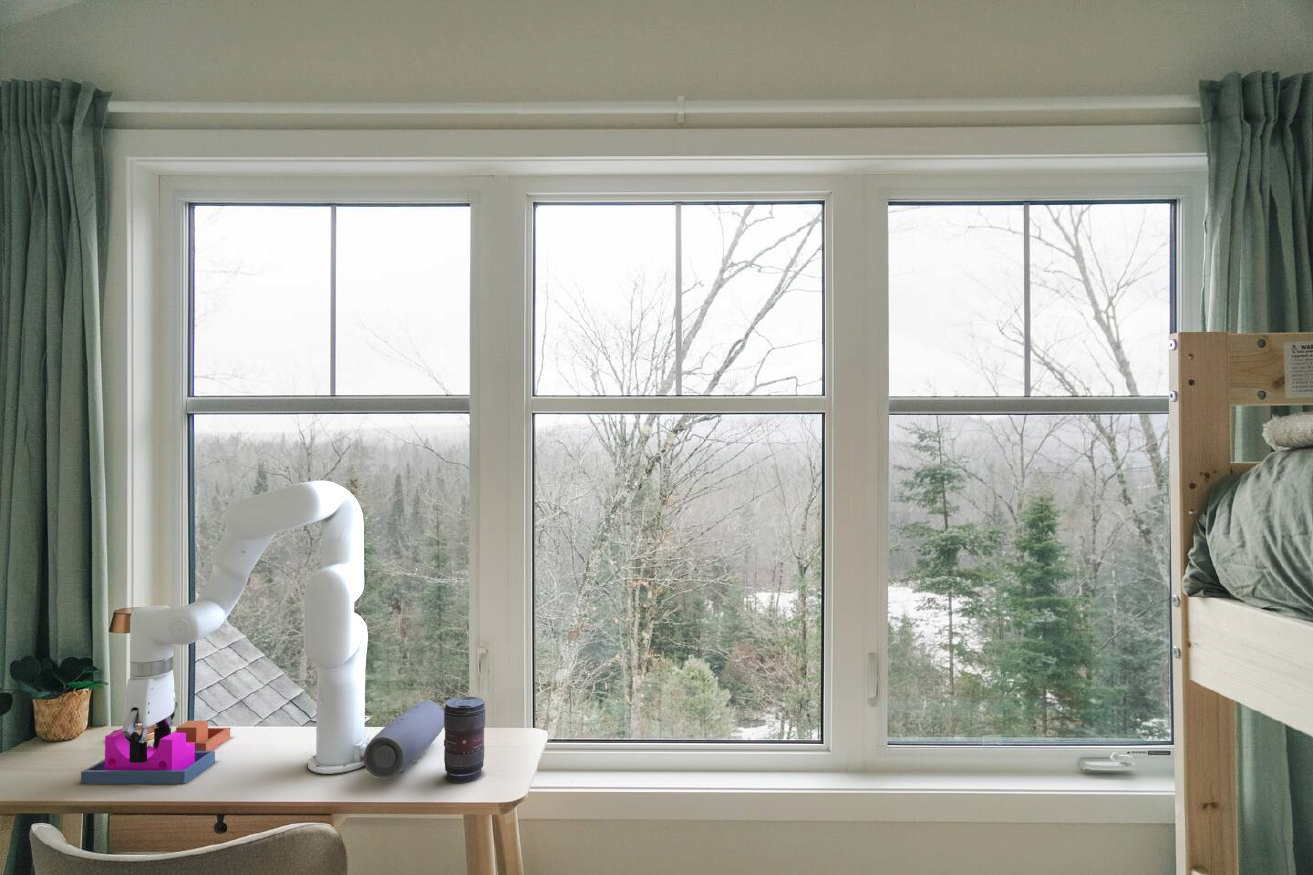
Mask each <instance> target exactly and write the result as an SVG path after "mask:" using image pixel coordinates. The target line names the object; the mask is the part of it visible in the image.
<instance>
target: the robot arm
mask: <svg viewBox="0 0 1313 875" xmlns="http://www.w3.org/2000/svg"><path fill="white" fill-rule="evenodd" d="M316 522H317V523H318V522H320V523H321V526H322V533H321V539H320V566H319V570H317V571H316V572H315V573H314V574H313V575H312V576H311V577H310V578H309V580H308V582H307V584H306V586H305V590H304V598H303V649H304V654H305V656H306V658H307V660H308V662H310V664H312V665H313V666H314V667H316V668H317V670H316V706H315V707H316V709H315V710H316V712H315V713H316V714H315V715H316V716H315V717H316V720H315V722H316V723H315V724H316V726H315V730H316V731H315V732H316V734H315V745H316V746H315V754H313V755H312V756H310V757H309V759H308V761H307V768H308V769H309V770H310V771H311V772H313V773H316V774H326V775H331V774H341V773H347V772H351V771H354V770H358V769H360V768H362V767H364V766H365V764H364V752H365V749H366V747H367V745H368V744H369V743H370V735H365V733H366V732H365V729H366V726H365V724H366V718H365V717H366V716H365V714H366V710H365V709H366V665H367V651H368V642H369V640H368V639H369V635H368V627H367V624H366V622H365V621H364V619H363V618H362V616H361V615H360V614H358V613H356V612H355V602H356V601H357V600H358V599H359V598H360V597H361V596H362V595H363V592H364V589H365V546H364V545H365V544H364V542H365V541H364V540H365V538H364V537H365V536H364V532H365V528H364V527H365V526H364V525H365V524H364V515H363V511H362V508H361V506H360V503H359V502H358V500H357V498H356V497H355V495H354V494H353V493H352V492H350V490H348V489H347V488H345V487H343V486H342V485H340V484H338V483H335V482H333V481H329V480H321V479H320V480H319V479H318V480H312V481H304V482H299V483H295V484H291V485H287V486H284V487H280V488H277V489H274V490H270V491H267V492H262V493H259V494H255V495H251V496H246V497H242V498H240V499H238V500H236V501H235V502H233V503H232V504H231V505H230V507H228V509H227V510H226V513H225V516H224V526H225V528H226V531H225V532H224V534H223V535H222V536H221V538H220V540H219V541H218V542H217V544H216V546H215V547H214V549H213V550H212V551H211V553H210V555H209V560H210V563H211V566H212V571H211V574H210V577H209V579H208V581H207V582H206V583H205V584H206V585H205V586H204V587H203V589H202V591H201V592H200V593H199V595H198V597H197V598H196V599H195V601H193V602H191V603H189V604H187V605H184V606H181V607H177V608H174V609H173V608H172V607H171V606H170V605H165V604H164V605H163V604H156V605H147V606H141V607H137V608H136V609H134V610H132V612H131V614H130V620H129V631H130V632H129V678H128V679H127V683H126V687H125V692H124V700H123V710H122V728H121V729H120V730H121V732H122V733H123V734H124V735H125V738H126V739H127V740H128V743H130V752H129V761H130V762H131V763H144V762H146V761H147V747H148V741H147V740H146V739H147V735H148V730H149V728H150V727H152V726H154V725H155V726H156V727H155V728H154V729H153V743H154V747H155V748H158V746H159V742H160V739H161V738H163V737H166V736H168V735H170V734H171V733H172V727H173V726H174V725H173V724H174V722H173V720H174V718H175V715H176V711H177V709H178V706H179V703H178V702H177V701H176V689H175V688H176V687H175V677H174V645H176V646H177V645H178V646H181V645H183V646H184V645H185V646H186V645H190V644H194V643H196V642H197V641H199V640H201V639H203V638H205V637H206V636H208V635H211V634H213V633H214V632H216V631H217V630H218V629H219V628H220V627H222V625H223V624H224V623H225V621H226V620H227V619H228V617H229V615H230V614H231V612H232V610H233V609H234V608H235V607H236V604H237V603H238V602H239V600H240V598H241V596H242V594H243V593H244V591H245V588H246V585H247V583H248V581H249V578H250V576H251V572H253V569H254V568H255V566H256V565H257V564H258V562H259V560H260V558H261V557H262V555H264V552H265V551H266V549H267V548H268V546H269V545H270V543H271V542H272V540H273V539H274V537H275V536H276V534H278V533H281V532H285V531H288V530H291V529H295V528H298V527H302V526H305V525H310V524H313V523H316ZM139 724H141V725H139ZM138 731H140V734H139V732H138Z"/></svg>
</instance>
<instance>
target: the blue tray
mask: <svg viewBox="0 0 1313 875" xmlns="http://www.w3.org/2000/svg"><path fill="white" fill-rule="evenodd" d="M215 763H216V751H215V750H212V751H195V763H193V764H192V765H190V766H189V767H187V768H186V769H184V770H105V758H103V759H102V760H100V761H98V762H97V763H94V764H92V765H91V766H89V767H87V768H86V769H83V770H82V771H80V785H136V784H137V785H171V784H173V785H175V784H176V785H179V784H180V785H181V784H182V785H183V784H184V785H185V784H186V783H188V782H189V781H191V780H192V779H193V778H195V777H196V776H198V775H199V774H200V773H203V771H205V770H206V769H208V768H209V767H211V766H212V765H214V764H215Z"/></svg>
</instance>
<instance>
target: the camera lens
mask: <svg viewBox="0 0 1313 875" xmlns="http://www.w3.org/2000/svg"><path fill="white" fill-rule="evenodd" d="M443 712H444V727H443V729H444V739H443V747H444V753H443V754H444V755H443V762H444V770H445V771H446V775H447V776H446V777H447V780H448V781H450V782H453V783H462V784H463V783H468V782H472V781H475V780H478V779H479V778H480V777H481V776H482V769H483V767H484V762H485V761H484V760H485V726H486V705H485V700H484V699H483V698H482V697H476V696H459V697H453V698H450V699H448V700H447V701H446V702H445V707H444V710H443Z"/></svg>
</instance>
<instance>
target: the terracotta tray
mask: <svg viewBox="0 0 1313 875" xmlns="http://www.w3.org/2000/svg"><path fill="white" fill-rule="evenodd" d="M174 732H176V729H175V730H174V731H171V734H172V733H174ZM230 739H231V727H208V740H207V741H205V742H186V743H195V751H214V749H216V748H218V747H220V745H222V744H224V743H225V742H226V741H228V740H230ZM152 747H154V742H153V743H152ZM154 748H155V747H154Z"/></svg>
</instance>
